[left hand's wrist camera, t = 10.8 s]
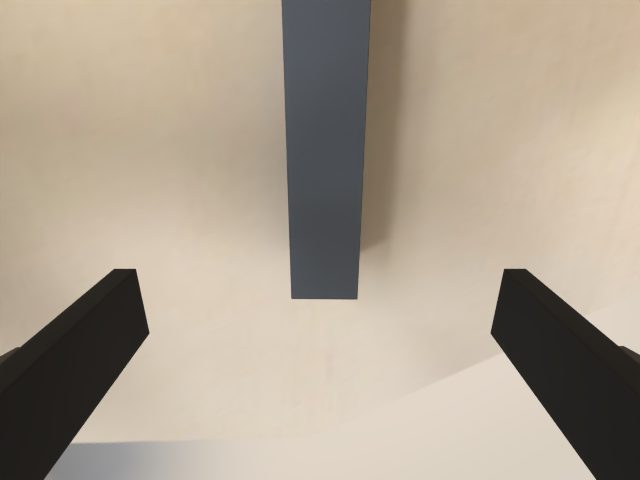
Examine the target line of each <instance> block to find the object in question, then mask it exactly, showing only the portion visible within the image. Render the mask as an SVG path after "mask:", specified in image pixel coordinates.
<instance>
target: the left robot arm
mask: <svg viewBox="0 0 640 480" xmlns="http://www.w3.org/2000/svg"><path fill="white" fill-rule="evenodd" d="M148 335H149V329H148V324H147V319H146V315H145V310H144V305H143V301H142V296H141V291H140V286H139V282H138V277H137V272H136V269H114V270H112V271H111V272H110V273H109V274H108V275H106V276H105V277H104V278H103V279H102V280H100V281H99V282H98V283H97V284H96V285H94V286H93V287H92V288H91V289H90V290H88V291H87V292H86V293H85V294H84V295H82V296H81V297H80V298H79V299H78V300H76V301H75V302H74V303H73V304H72V305H70V306H69V307H68V308H67V309H66V310H64V311H63V312H62V313H61V314H60V315H58V316H57V317H56V318H55V319H54V320H52V321H51V322H50V323H49V324H48V325H46V326H45V327H44V328H43V329H42V330H40V331H39V332H38V333H37V334H36V335H34V336H33V337H32V338H31V339H30V340H28V341H27V342H26V343H25V344H24V345H22V346H21V347H17V348H15V349H13V350H11V351H9V352H7V353H6V354H4V355H2V356H0V480H44V479H45V477H46V476H47V474H48V473H49V472H50V470H51V469H52V467H53V466H54V465H55V463H56V462H57V461H58V459H59V458H60V456H61V455H62V454H63V452H64V451H65V449H66V448H67V447H68V445H69V444H70V443H71V441H72V440H73V438H74V437H75V436H76V434H77V433H78V431H79V430H80V429H81V427H82V426H83V425H84V423H85V422H86V420H87V419H88V418H89V416H90V415H91V414H92V412H93V411H94V409H95V408H96V407H97V405H98V404H99V402H100V401H101V400H102V398H103V397H104V396H105V394H106V393H107V391H108V390H109V389H110V387H111V386H112V384H113V383H114V382H115V380H116V379H117V378H118V376H119V375H120V373H121V372H122V371H123V369H124V368H125V366H126V365H127V364H128V362H129V361H130V360H131V358H132V357H133V355H134V354H135V353H136V351H137V350H138V348H139V347H140V346H141V344H142V343H143V342H144V340H145V339H146V337H147V336H148ZM491 335H492V336H493V337H494V339H495V340H496V342H497V343H498V344H499V346H500V347H501V348H502V350H503V351H504V353H505V354H506V355H507V357H508V358H509V360H510V361H511V362H512V364H513V365H514V366H515V368H516V369H517V371H518V372H519V373H520V375H521V376H522V377H523V379H524V380H525V382H526V383H527V384H528V386H529V387H530V389H531V390H532V391H533V393H534V394H535V396H536V397H537V398H538V400H539V401H540V402H541V404H542V405H543V407H544V408H545V409H546V411H547V412H548V413H549V415H550V416H551V418H552V419H553V420H554V422H555V423H556V425H557V426H558V427H559V429H560V430H561V431H562V433H563V434H564V436H565V437H566V438H567V440H568V441H569V443H570V444H571V445H572V447H573V448H574V449H575V451H576V452H577V454H578V455H579V456H580V458H581V459H582V460H583V462H584V463H585V465H586V466H587V467H588V469H589V470H590V472H591V473H592V474H593V476H594V477H595V478H596V480H640V355H639V354H637V353H635V352H634V351H632V350H630V349H628V348H626V347H624V346H618V345H616V344H615V343H614V342H613V341H612V340H610V339H609V338H608V337H607V336H606V335H604V334H603V333H602V332H601V331H600V330H598V329H597V328H596V327H595V326H594V325H592V324H591V323H590V322H589V321H588V320H586V319H585V318H584V317H583V316H582V315H580V314H579V313H578V312H577V311H576V310H574V309H573V308H572V307H571V306H570V305H568V304H567V303H566V302H565V301H564V300H562V299H561V298H560V297H559V296H558V295H556V294H555V293H554V292H553V291H552V290H550V289H549V288H548V287H547V286H546V285H544V284H543V283H542V282H541V281H540V280H538V279H537V278H536V277H535V276H534V275H532V274H531V273H530V272H529V271H528V270H526V269H504V272H503V277H502V282H501V286H500V291H499V296H498V301H497V305H496V310H495V315H494V319H493V324H492V329H491Z"/></svg>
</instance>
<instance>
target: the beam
mask: <svg viewBox="0 0 640 480" xmlns="http://www.w3.org/2000/svg"><path fill="white" fill-rule="evenodd" d="M370 10H371V0H282V25H283V55H284V86H285V117H286V147H287V178H288V209H289V239H290V270H291V298H292V299H357V296H358V274H359V252H360V230H361V208H362V186H363V164H364V142H365V120H366V98H367V76H368V54H369V32H370Z"/></svg>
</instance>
